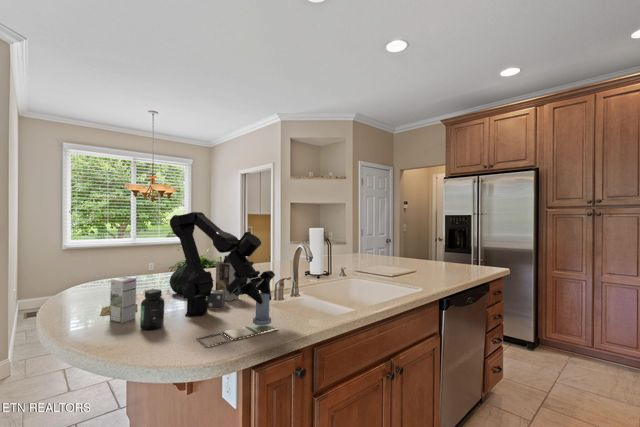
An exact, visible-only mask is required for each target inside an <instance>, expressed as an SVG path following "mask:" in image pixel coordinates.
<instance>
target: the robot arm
mask: <svg viewBox="0 0 640 427" xmlns="http://www.w3.org/2000/svg"><path fill="white" fill-rule="evenodd" d="M169 226H170V229H171V231H172V232H173V234H174V235H175V236H176V237H177V238H178V239H179V240H180V245H181V248H182V251H183V256H184V259H185V261H186V265H188V269H189V272H190V275H189V278H188V287H187V289H186V290H185V291H184V292H183V293H182V297H183V299H184V300H186V301H187V302H186V313H185V317H202V316H204V315H206V314H207V312H208V300H207V296H210V294H211V291H212V290H213V288H214V281H215V280H214V279H213V277H212V273H211V271H207V270H205V269H204V267H203V264H202V260H201V257H200V253H199V251H198V247H197V244H196V240H195V238H194V232H195V226H196V227H197V228H198V229H199V230H200V231H202V232H203V233H204V234H205V235H206V236H207V237H208V238H210V240H211V241H212V245H213V247H214V248H215V250H217V251H218V252H219V253H220V254H223V253H228V254H227V255H224V258H223V261H222V262H223V263H224V264H225V263H230V264H231V265H232V267H233V269H234V270H235V273H234V276H235V279H234V280H233V281H232V282H231V283H227V284H226V289H227V291H228V292H229V294H230V295H232V294H235V295H236V296H238V295H239V296H241V295H247V296H248V297H250V298H251V299H252V300H254V301H255V303H256V302H258V303H259V304H262V303H263V301H262V298H261V296H260V292H261V293H267V294H270V300H269V302H271V301H272V294H271V286H270V281H271V280H272V279H273V278H274V277H275V276H276V274H275V273H274V271H273V270H271V269H270V270H265V271H263V272H262V273H261V272H260V270H256V269H255V268H254V267H253V266H254V264H255V263H254V261H250V260H249V259H248V257H251V256H253V254H254V253H255V252H256V251H257V250H258V249H259V247H261V245H262V240H261V239H260V238H259V237H257V235H255V234H253V233H251V232H250V231H245V232H244V233H243V235H242V237H241V238H240V239H239V238H238V237H237V236H236V235H234V234H232V233H229V232H226V231H224V230H222V229H221V228H220V227H218V225H217V224H215V223H214V222H213V221H212V220H210V219H209V218H208V217H207V216H205V214H204V213H203V211H202V212H201V211H199V212H198V211H191V212H190V213H184V214H174V215H173V216H172V217H171V218H170V220H169Z"/></svg>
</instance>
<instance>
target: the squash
mask: <svg viewBox="0 0 640 427" xmlns="http://www.w3.org/2000/svg"><path fill="white" fill-rule="evenodd" d="M189 275H190V272H189V269H188V265H187V264H184V265H183V266H181V267H179V268H178V269H176V270H175V271H173V272H172V274H171V276H170V279H169V285H170V288H171V289H172V291H173V292H174V293H175V294H180V295H183V292H184V291H185V290H186V289H187V287H188V278H189Z"/></svg>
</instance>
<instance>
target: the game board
mask: <svg viewBox="0 0 640 427" xmlns="http://www.w3.org/2000/svg"><path fill="white" fill-rule="evenodd" d="M275 328H277V326H274V325H272V324H271V323H269V324H266V325H257V324H252V325H247V326H244V327H243V326H242V327H238V328H233V329H230V330H229V329H228V330H224V331H222V332H216V333H212V334H209V335H203V336H199V337H196V338H195V340H198V341H197V342H199V343H200V344H201V345H202V346H203V345H204V346H205V347H204V348H206V347H207V348H209V347H208V346H211V347H213V346H212V345H215V344H219V345H221V344H220V343H223V342H227V343H229V342H228V341H231V339H233V340H235V339H239V338H243V337H247V336H251V335H255V334H258V333H261V332H264V331H268V330H271V329H275ZM222 333H223V334H222ZM217 334H222V335H223V336H224V338H225V337H226V338H227V339H229V340H227V339H226V338H225V339H226V340H224V341H220V342H215V343H212V344H208V345H207V344H206V343H204V342H203V341H202V340H201V338H202V339H205V337H206V338H210V337H209V336H211V337H214V336H213V335H215V336H218V335H217ZM224 334H225V335H226V336H225V335H224ZM222 335H221V336H222ZM223 336H222V337H223ZM227 336H228V337H229V338H228V337H227ZM230 338H231V339H230ZM223 344H224V343H223ZM215 346H216V345H215Z"/></svg>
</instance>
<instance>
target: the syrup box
mask: <svg viewBox="0 0 640 427" xmlns="http://www.w3.org/2000/svg"><path fill="white" fill-rule="evenodd" d="M109 300H110V302H109V304H110V305H109V306H110V315H109V321H110V322H114V323H121V324H122V323H126V322H129V321H133V320H135V319H136V313H137V312H136V303H137V277H130V276H120V277H115V278H112V279H110V298H109Z"/></svg>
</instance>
